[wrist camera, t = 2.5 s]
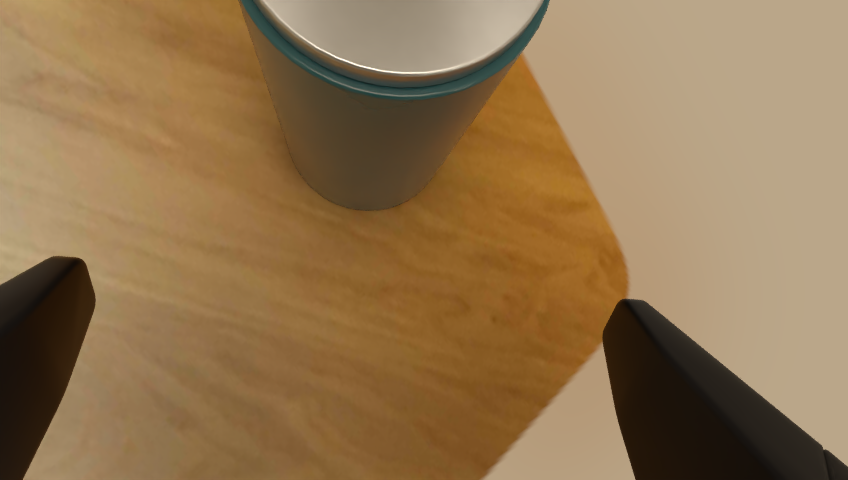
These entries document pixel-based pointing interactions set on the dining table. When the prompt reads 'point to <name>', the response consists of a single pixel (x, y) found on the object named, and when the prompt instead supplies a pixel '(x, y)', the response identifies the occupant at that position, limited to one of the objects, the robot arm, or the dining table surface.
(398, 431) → the dining table surface
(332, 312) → the dining table surface
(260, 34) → the can
